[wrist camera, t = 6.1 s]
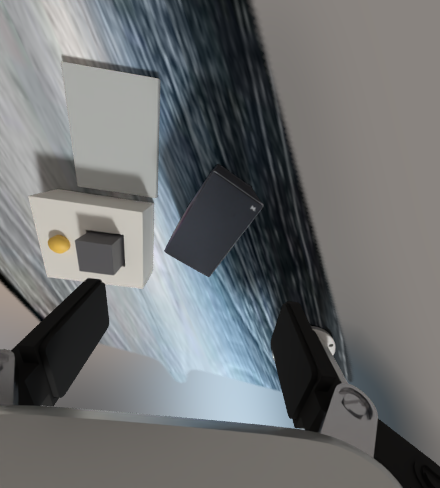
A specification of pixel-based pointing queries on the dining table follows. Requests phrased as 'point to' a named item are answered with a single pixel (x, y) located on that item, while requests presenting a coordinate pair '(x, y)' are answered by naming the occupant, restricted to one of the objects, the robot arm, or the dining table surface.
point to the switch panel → (96, 219)
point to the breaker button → (100, 252)
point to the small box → (214, 221)
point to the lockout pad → (113, 129)
